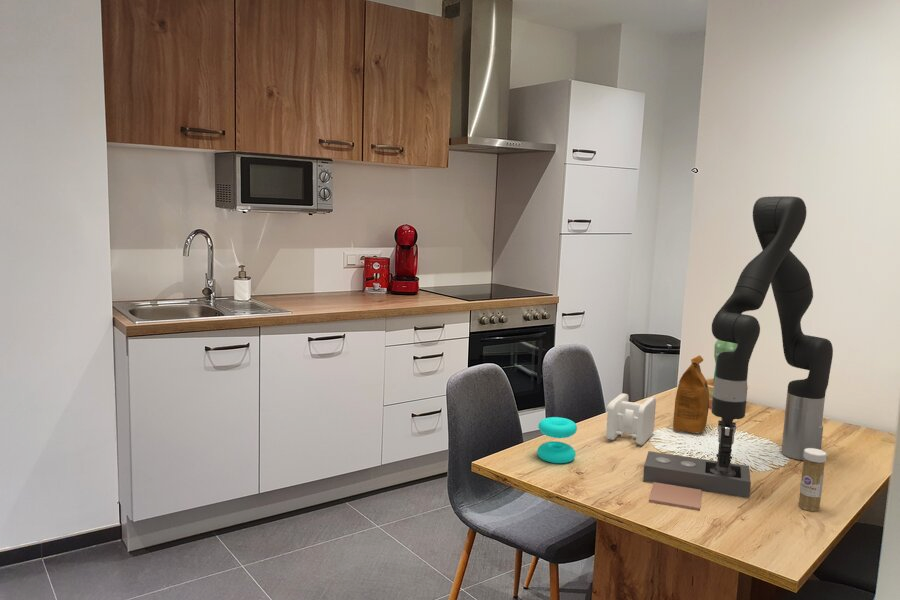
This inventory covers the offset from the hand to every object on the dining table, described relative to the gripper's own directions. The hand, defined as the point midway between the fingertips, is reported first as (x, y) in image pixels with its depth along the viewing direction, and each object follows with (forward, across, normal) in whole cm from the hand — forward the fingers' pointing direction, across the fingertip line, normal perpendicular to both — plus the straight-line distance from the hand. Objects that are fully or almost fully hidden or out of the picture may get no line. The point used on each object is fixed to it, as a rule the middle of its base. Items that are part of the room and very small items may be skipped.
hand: (723, 461), depth 172 cm
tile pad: (+6, -12, +10) cm, 17 cm away
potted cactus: (+6, +73, 0) cm, 73 cm away
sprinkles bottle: (+6, -5, -19) cm, 20 cm away
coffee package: (+6, +43, +9) cm, 44 cm away
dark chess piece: (+6, 0, 0) cm, 6 cm away
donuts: (+6, +1, +41) cm, 42 cm away
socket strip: (+6, 0, +6) cm, 9 cm away
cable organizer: (+6, +26, +25) cm, 37 cm away
